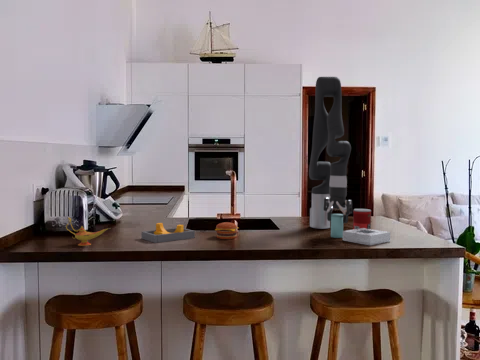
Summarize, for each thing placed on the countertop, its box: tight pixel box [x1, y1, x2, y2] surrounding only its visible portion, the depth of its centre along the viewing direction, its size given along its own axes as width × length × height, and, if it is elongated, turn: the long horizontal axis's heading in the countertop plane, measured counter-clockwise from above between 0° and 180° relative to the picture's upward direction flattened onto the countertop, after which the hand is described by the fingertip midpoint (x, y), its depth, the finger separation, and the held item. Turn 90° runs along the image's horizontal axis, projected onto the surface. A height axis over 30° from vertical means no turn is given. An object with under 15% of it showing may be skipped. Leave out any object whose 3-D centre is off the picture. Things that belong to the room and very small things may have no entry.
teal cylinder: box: [330, 213, 344, 239], centre depth 201 cm, size 5×5×10 cm
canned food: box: [352, 208, 372, 230], centre depth 213 cm, size 8×8×11 cm
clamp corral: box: [141, 227, 196, 244], centre depth 196 cm, size 12×19×3 cm, turn 129°
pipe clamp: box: [154, 222, 185, 235], centre depth 195 cm, size 12×4×6 cm, turn 71°
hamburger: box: [214, 221, 239, 240], centre depth 199 cm, size 9×10×7 cm
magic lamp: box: [65, 216, 111, 247], centre depth 180 cm, size 7×18×11 cm, turn 88°
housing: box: [342, 228, 391, 246], centre depth 192 cm, size 14×14×4 cm
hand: (337, 222), depth 201 cm, fingers open, 8 cm apart
